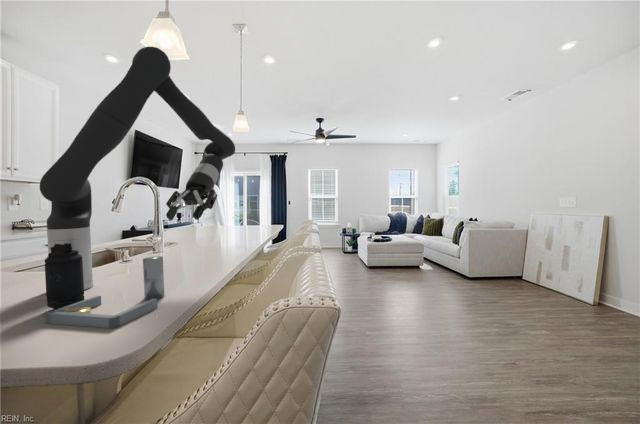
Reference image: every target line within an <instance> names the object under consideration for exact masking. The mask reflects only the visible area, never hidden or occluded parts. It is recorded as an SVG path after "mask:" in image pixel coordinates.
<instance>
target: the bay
mask: <svg viewBox="0 0 640 424" xmlns="http://www.w3.org/2000/svg"><path fill="white" fill-rule="evenodd" d="M101 305H102V296H101V295H95V296H92V297H89V298H86V299H84V300H83V301H80V302H77V303H74V304H71V305H68V306H65V307H62V308H59V309H56V310H55V309H53V310H50V311H48V312H45V313H44V319H45V321H44V322H45V324H52V325H64V326H75V327H76V326H79V327H90V328H102V329H117V328H119V327H121V326H123V325H126V324H127V323H129V322H132V321H133V320H135V319H137V318H139V317H141V316H144V315H145V314H147V313H149V312H152V311H153V310H156V309H157V308H158V299H151V300H145V301H144V302H142V303H139V304H138V305H135V306H133V307H130V308H128V309H125V310H124V311H123V310H122V311H121V312H119V313H117V314H115V315H114V314H101V313H100V314H99V313H97V314H96V313H91V314H86V313H71V312H67V311H69V310H71V309H75V308H80V307H90V308H91V309H93V308H96V307H98V306H101Z"/></svg>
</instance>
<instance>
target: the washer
mask: <svg viewBox="0 0 640 424" xmlns="http://www.w3.org/2000/svg"><path fill="white" fill-rule="evenodd" d="M67 312H71V313H86V314H92V308H90V307H80V308H75V309H71V310H69V311H67Z"/></svg>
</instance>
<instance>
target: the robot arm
mask: <svg viewBox="0 0 640 424" xmlns="http://www.w3.org/2000/svg"><path fill="white" fill-rule="evenodd" d="M131 61H132V63H131V65H130V68H129V69H128V70H127V72H126V74H125V76H124V77H123V78H122V80H121V81H120V82H119V83H118V84H117V85H116V86H115V87H113V89H112V90H111V91H110V92H109V93H108V94H107V95H106V96H105V97H104V99H102V100H101V102H100V103H99V104H98V105H97V107H96V108H95V109H94V110H93V112H92V113H91V115H90V116H89V117H88V118H87V121H86V122H85V124H83V126H82V128H81V129H80V130H79V132H78V133H77V134H76V136H75V137H74V139H73V141H72V142H71V144H70V145H69V147H68V148H67V149H66V150H65V152H64V153H62V155H61V156H60V157H59V158H58V159H57V160H56V161H55V163H53V164H52V165H51V166H50V168H48V170H47V171H46V172H45V173H44V174H43V175H42V177H41V179H40V180H39V181H40V182H39V191H40V194H41V195H42V196H43V197H44V199H46V200H48V202H51V211H50V215H49V216H48V217H47V219H46V235H47V252H48V253H47V255H48V254H49V253H51V249H50V248H51V247H54V245H55V244H64V243H71V247H72V250H78V252H79V253H78V254H80V255H81V256H82V260H83V279H84V291H85V290H87V289H90V288H93V286H94V280H93V276H94V275H93V259H92V258H93V257H92V241H91V240H92V239H91V218H92V213H93V212H92V211H93V209H92V205H93V203H92V200H93V199H92V186H91V183H90V181H89V179H88V178H89V177H90V175H91V173H92V172H93V170H95V167H96V166H97V165H98V164H99V163H100V161H101V160H103V159H104V158H105V157H107V156H108V155H109V154H110V153H111V152H112V151H114V149H116V148H117V147H118V146H119V145H120V144H121V143H122V141H123V140H124V139H125V137H126V136H127V134H128V133H129V132H130V130H131V129H132V127H133V126H134V124H135V122H136V120H137V119H138V118H139V116H140V114H141V113H142V110H143V109H144V107H145V104H146V102H147V101H148V99H149V98H150V97H151V96H152V94H154V92H155V93H156V94H157V95H158V96H159V97H160V99H162V100H163V101H164V102H165V103H166V104H167V105H168V107H170V108H171V109H172V110H173V112H175V113H176V115H177V116H178V117H179V119H180V120H181V121H182V122H183V123H184V125H186V127H187V128H188V129H189V130H190V131H191V133H193V135H194V136H195V137H196V138H197V139H198V140H201V141H204V140H208V141H211V142H209V143H208V144H206V146H205V147H204V149H203V154H202V159H201V160H200V162H199V164H198V166H197V167H196V168H195V169H194V171H193V172H192V173H191V176H189V178H188V180H187V182H186V183H185V190H184V191H182V192H179V191H178V190H174V192H173V193H172V194H171V196H169V198H168V199H167V202H166V203H165V205H166V206H167V207H168V210H167V213H166V215H165V216H166V218H167V219H168V220H169V221H173V220H174V219H175V217H176V215H177V213H178V211H179V210H181V209H184V208H186V207H187V206H196V208H195V209H194V212H193V213H192V217H193V218H194V220H196V221H197V220H200V218H201V217H202V216H203V214H204V212H205V211H206V210H212V209H213V207H214V205H215V203H216V200H217V198H218V194H217V192H216V190H215V189H214V188H215V186H216V184H217V181H218V178H219V176H220V174H221V172H222V170H223V167H224V162H223V160H225V159H227V158H230V157H231V156H233V155H234V154H235V153H236V145H235V143H234V141H233V140H232V139H231V138H230V136H228V135H227V134H225V133H224V132H222V130H220V129H219V128H218V127H216V126H215V125H214V124H213V122H211V120H210V119H209V118H208V117H207V115H206V114H205V113H204V112H203V110H201V109H200V107H199V106H198V105H197V104H195V103H194V102H193V101H192V99H190V98H189V97H188V96H187V95H186V94H185V93H184V92H183V91H182V90H181V89H180V88H179V87H178V86H177V85H176V83H175V82H174V80H173V79H172V78H171V76H170V74H171V69H172V66H171V61H170V59H169V57H168V55H167V53H166V52H165V51H163V50H162V49H160V48H159V47H157V46H145V47H142V48H140V49H138V51H136V53H135V54H134V55H133V57H132V60H131ZM204 200H205V201H204ZM182 201H183V202H184V203H183V202H182ZM178 204H179V205H178ZM47 258H48V256H47V257H45V259H47Z"/></svg>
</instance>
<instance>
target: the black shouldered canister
mask: <svg viewBox="0 0 640 424" xmlns="http://www.w3.org/2000/svg"><path fill="white" fill-rule="evenodd" d="M50 249H51V253H49V254H48V253H47V257H48V258H47V259H46V258H45V259H44V275H45V294H46V301H47V302H46V306H47V307H48V308H51V309H53V310H56V309H59V308H62V307H65V306H68V305H71V304H74V303H77V302H80V301H83V300H85V290H84V279H83V260H82V256H81V255H80V254H78V253H79V252H78V250H72V247H71V243H64V244H55V245H54V247H51V248H50Z"/></svg>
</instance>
